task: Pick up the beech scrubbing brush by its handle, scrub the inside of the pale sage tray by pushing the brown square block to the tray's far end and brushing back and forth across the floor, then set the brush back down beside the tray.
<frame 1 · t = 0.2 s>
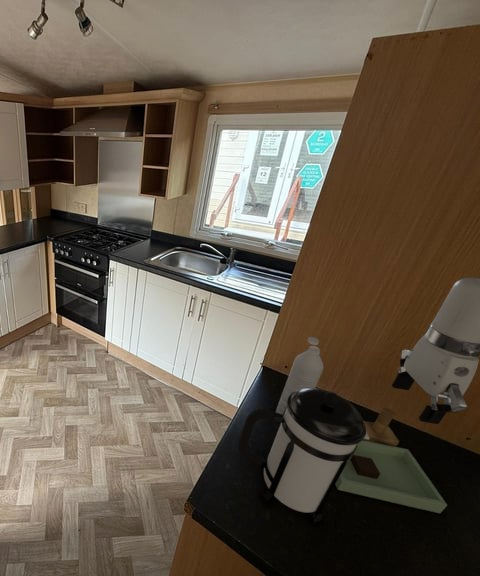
hand: (413, 403, 68), 21 cm above the worktop, tool pointing down, fingers open, 9 cm apart
brush: (372, 439, 84), on the worktop
coffee press: (283, 490, 72), on the worktop
tray: (371, 472, 76), on the worktop
water bottle: (287, 415, 91), on the worktop
brown square block: (363, 469, 76), point 1 cm above the worktop, touching tray
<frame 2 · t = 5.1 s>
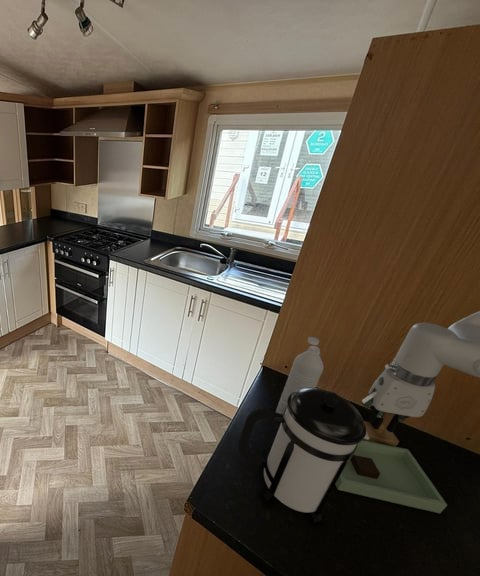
hand: (380, 426, 82), 5 cm above the worktop, tool pointing down, fingers closed on brush, 2 cm apart
brush: (372, 439, 84), on the worktop, touching gripper
everything else where it was.
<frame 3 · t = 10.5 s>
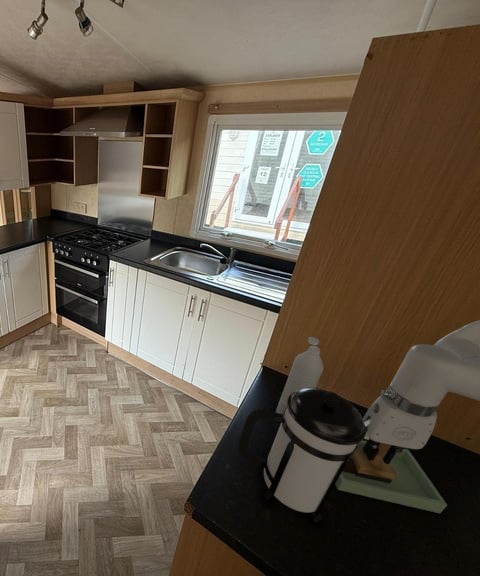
hand: (375, 456, 73), 6 cm above the worktop, tool pointing down, fingers closed on brush, 2 cm apart
brush: (367, 470, 76), point 1 cm above the worktop, touching brown square block, gripper, tray
brown square block: (341, 464, 77), point 1 cm above the worktop, touching brush, tray
everything else where it was.
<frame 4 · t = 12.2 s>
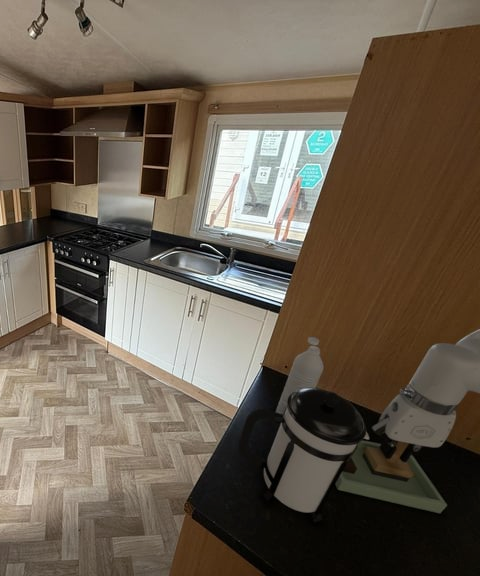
hand: (392, 454, 74), 6 cm above the worktop, tool pointing down, fingers closed on brush, 2 cm apart
brush: (383, 468, 76), point 1 cm above the worktop, touching gripper
brown square block: (341, 464, 77), point 1 cm above the worktop, touching tray
everything else where it was.
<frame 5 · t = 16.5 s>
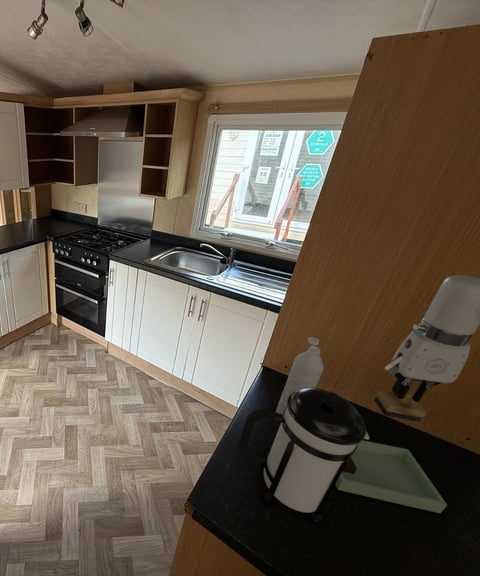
hand: (405, 395, 74), 18 cm above the worktop, tool pointing down, fingers closed on brush, 2 cm apart
brush: (395, 410, 77), point 13 cm above the worktop, touching gripper
everything else where it was.
when the fingers open (5 cm above the worktop, at t = 19.7 s): brush stays where it is, on the worktop.
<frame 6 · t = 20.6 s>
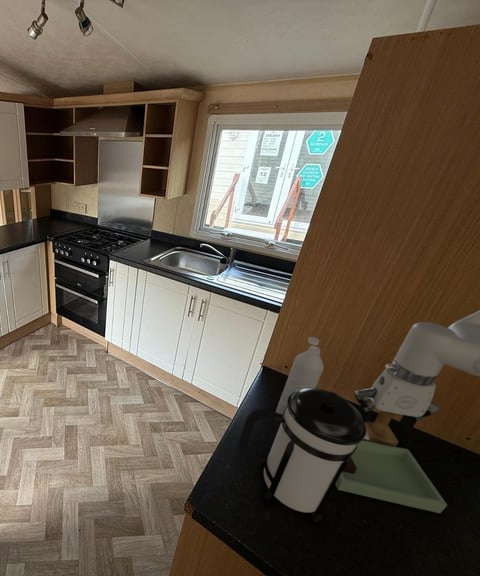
hand: (382, 422, 81), 6 cm above the worktop, tool pointing down, fingers open, 9 cm apart
brush: (371, 438, 84), on the worktop
everything else where it was.
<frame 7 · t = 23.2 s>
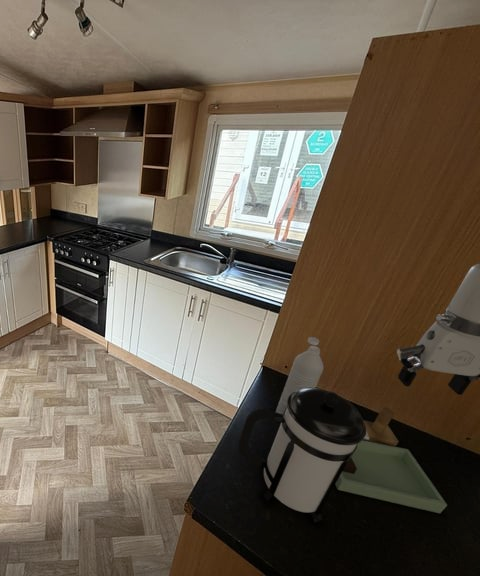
hand: (428, 386, 71), 22 cm above the worktop, tool pointing down, fingers open, 9 cm apart
nothing on the worktop moved.
at the end: brown square block inside the target area in the tray (0.3 cm from its centre), point 0.6 cm above the tray's base; brush 0.1 cm from the target spot, on the worktop; brush tilted 0° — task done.
